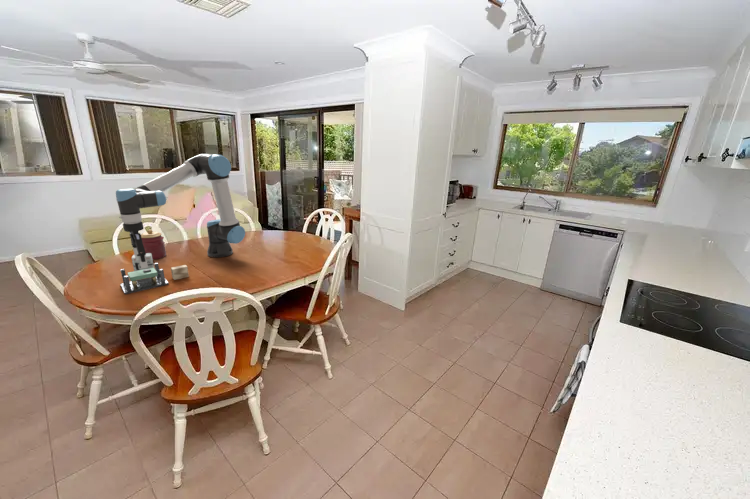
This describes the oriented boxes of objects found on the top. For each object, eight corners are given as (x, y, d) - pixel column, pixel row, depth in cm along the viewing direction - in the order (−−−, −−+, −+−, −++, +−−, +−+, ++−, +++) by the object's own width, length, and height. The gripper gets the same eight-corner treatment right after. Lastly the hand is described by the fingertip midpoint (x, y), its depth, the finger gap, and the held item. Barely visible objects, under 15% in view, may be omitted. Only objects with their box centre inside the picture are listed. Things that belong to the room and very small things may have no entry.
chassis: (162, 276, 167) (160, 262, 165) (168, 284, 159) (166, 269, 156) (120, 285, 155) (117, 269, 152) (124, 294, 146) (121, 278, 144)
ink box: (135, 278, 164) (131, 257, 160) (136, 275, 167) (131, 254, 164) (155, 275, 168) (151, 255, 165) (155, 272, 172) (151, 252, 168)
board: (154, 271, 162) (153, 266, 161) (157, 275, 156) (157, 270, 156) (128, 276, 154) (127, 271, 153) (130, 281, 149) (129, 276, 148)
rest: (187, 274, 171) (185, 264, 169) (188, 276, 169) (187, 266, 167) (172, 278, 167) (170, 267, 165) (174, 279, 164) (172, 269, 162)
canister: (143, 261, 187) (137, 233, 182) (140, 255, 196) (135, 228, 191) (168, 257, 195) (163, 230, 190) (164, 252, 204) (160, 226, 199)
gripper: (118, 218, 153) (128, 258, 159) (126, 228, 136) (137, 273, 143) (137, 216, 158) (145, 255, 165) (147, 226, 141) (156, 269, 148)
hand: (141, 263), depth 154 cm, fingers open, 13 cm apart
